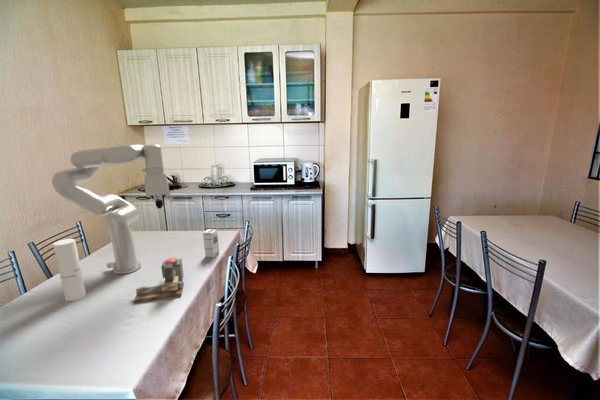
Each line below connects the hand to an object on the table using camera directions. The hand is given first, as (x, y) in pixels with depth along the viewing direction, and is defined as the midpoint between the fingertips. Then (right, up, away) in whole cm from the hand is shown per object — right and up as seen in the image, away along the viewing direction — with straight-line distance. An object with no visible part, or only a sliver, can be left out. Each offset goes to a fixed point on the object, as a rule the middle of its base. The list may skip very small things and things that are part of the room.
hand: (159, 207), depth 145 cm
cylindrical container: (-28, -38, -18) cm, 50 cm away
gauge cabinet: (+9, -34, -5) cm, 36 cm away
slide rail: (+8, -37, -17) cm, 41 cm away
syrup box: (+19, -28, +22) cm, 40 cm away
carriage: (+13, -35, -16) cm, 40 cm away
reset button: (+9, -30, -6) cm, 32 cm away
